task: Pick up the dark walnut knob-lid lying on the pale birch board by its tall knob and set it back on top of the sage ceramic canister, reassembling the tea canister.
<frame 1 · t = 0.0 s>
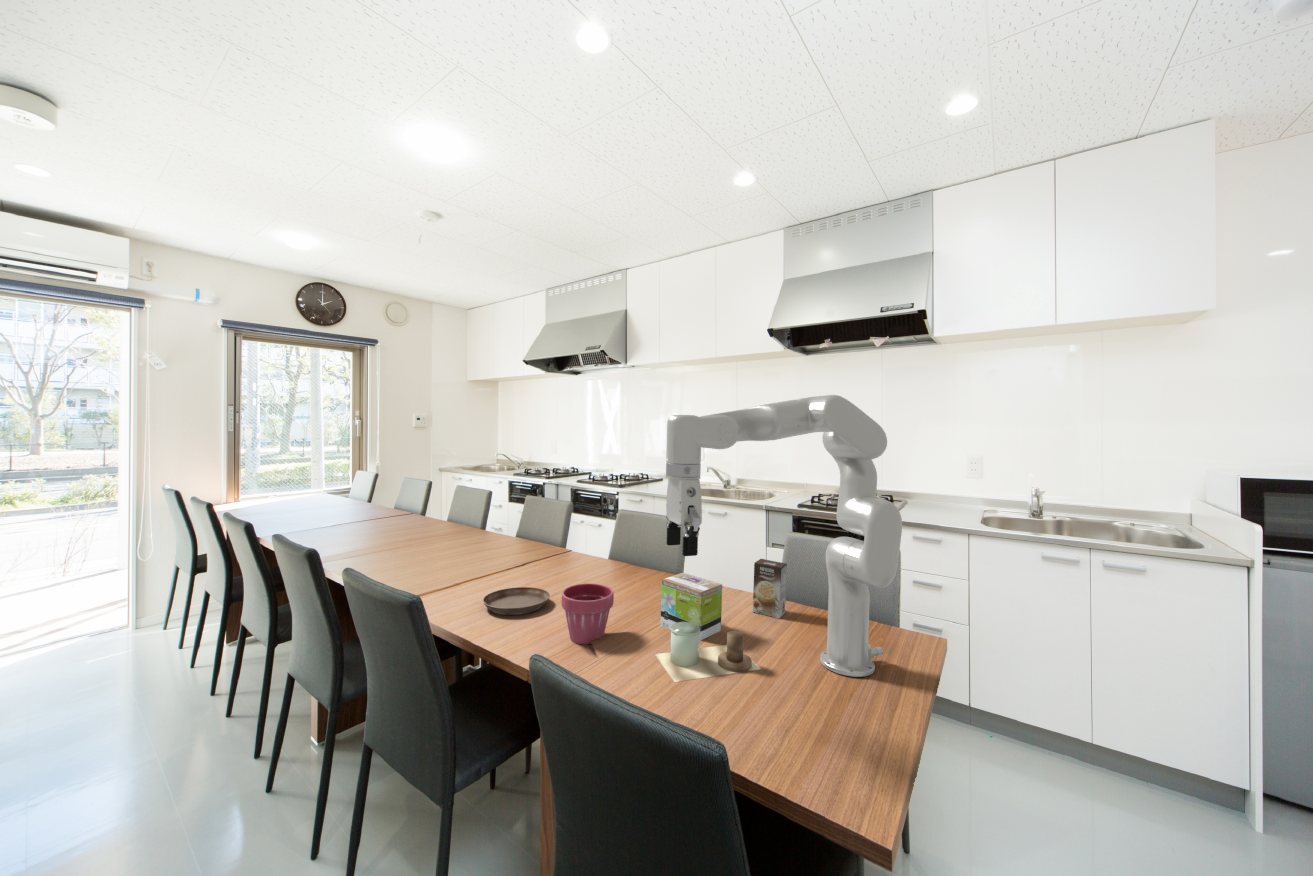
hand: (681, 550, 105), 31 cm above the table, fingers open, 9 cm apart
jar: (684, 660, 118), point 1 cm above the table, touching board
coffee box: (768, 613, 154), on the table
plant pot: (586, 638, 133), on the table
lid: (734, 663, 117), point 1 cm above the table, touching board
board: (706, 666, 118), on the table
plant saucer: (516, 607, 155), on the table
tea box: (690, 632, 138), on the table
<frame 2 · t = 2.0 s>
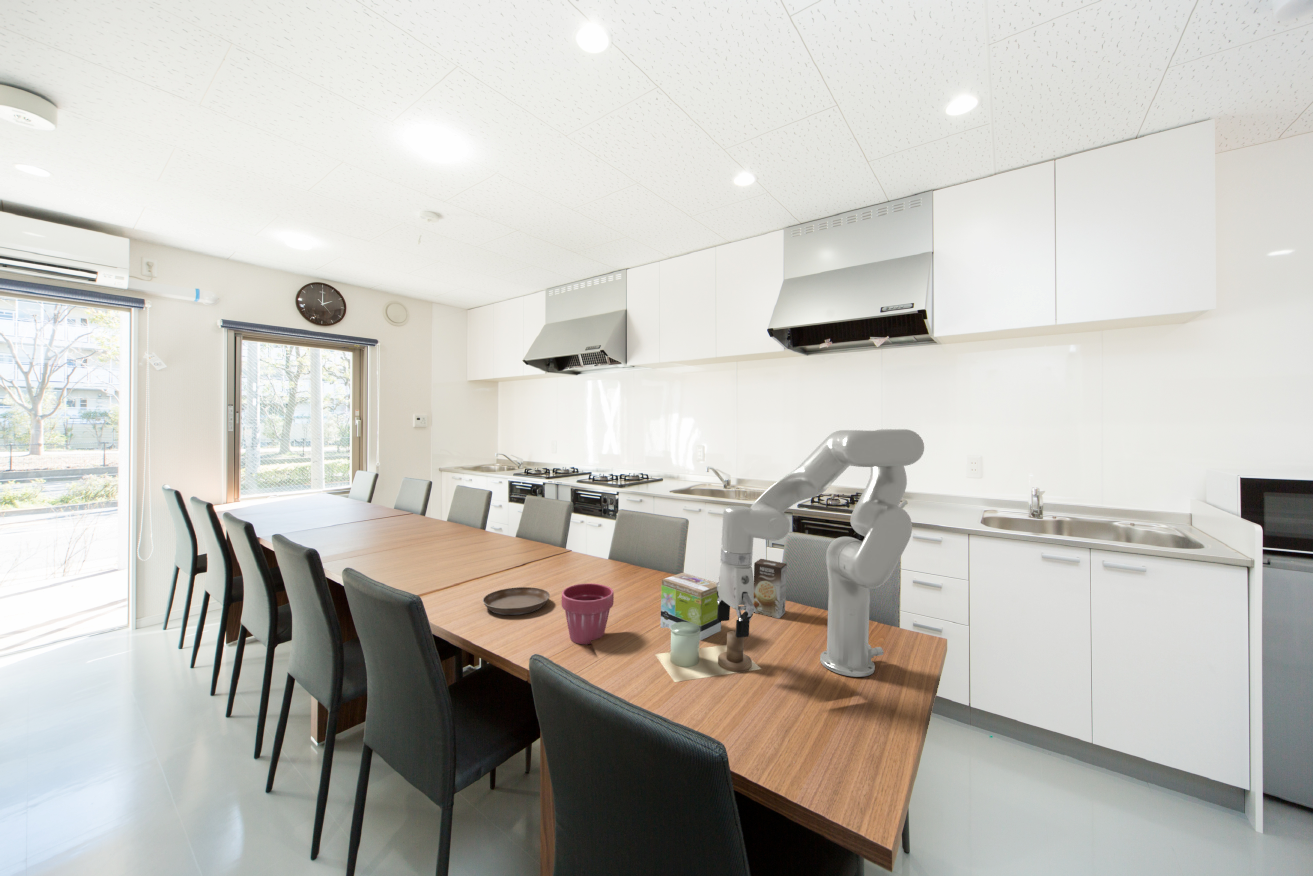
hand: (732, 628, 117), 10 cm above the table, fingers open, 9 cm apart
nothing on the table moved.
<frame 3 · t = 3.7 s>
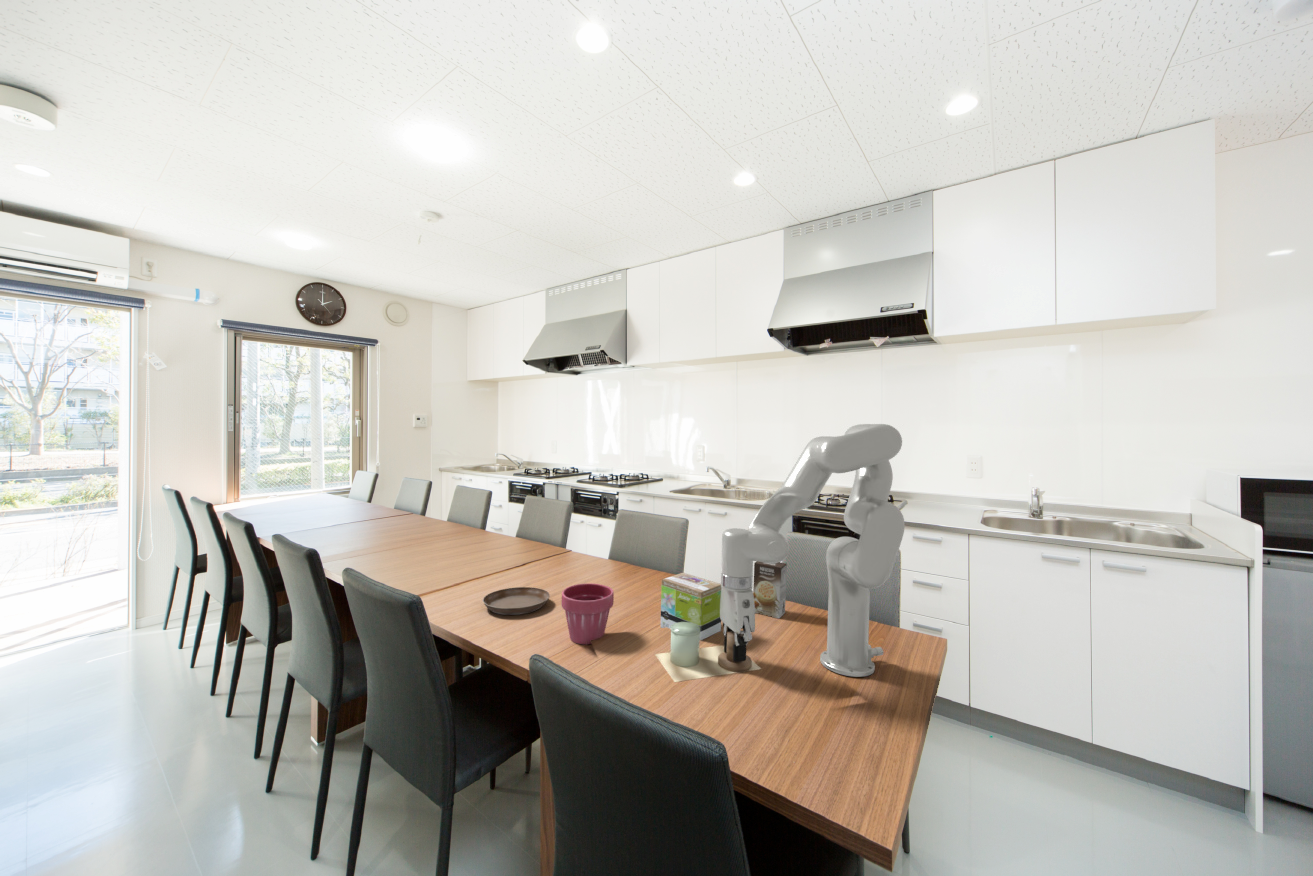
hand: (734, 655, 117), 3 cm above the table, fingers closed on lid, 4 cm apart
lid: (734, 663, 117), point 1 cm above the table, touching board, gripper
everything else where it was.
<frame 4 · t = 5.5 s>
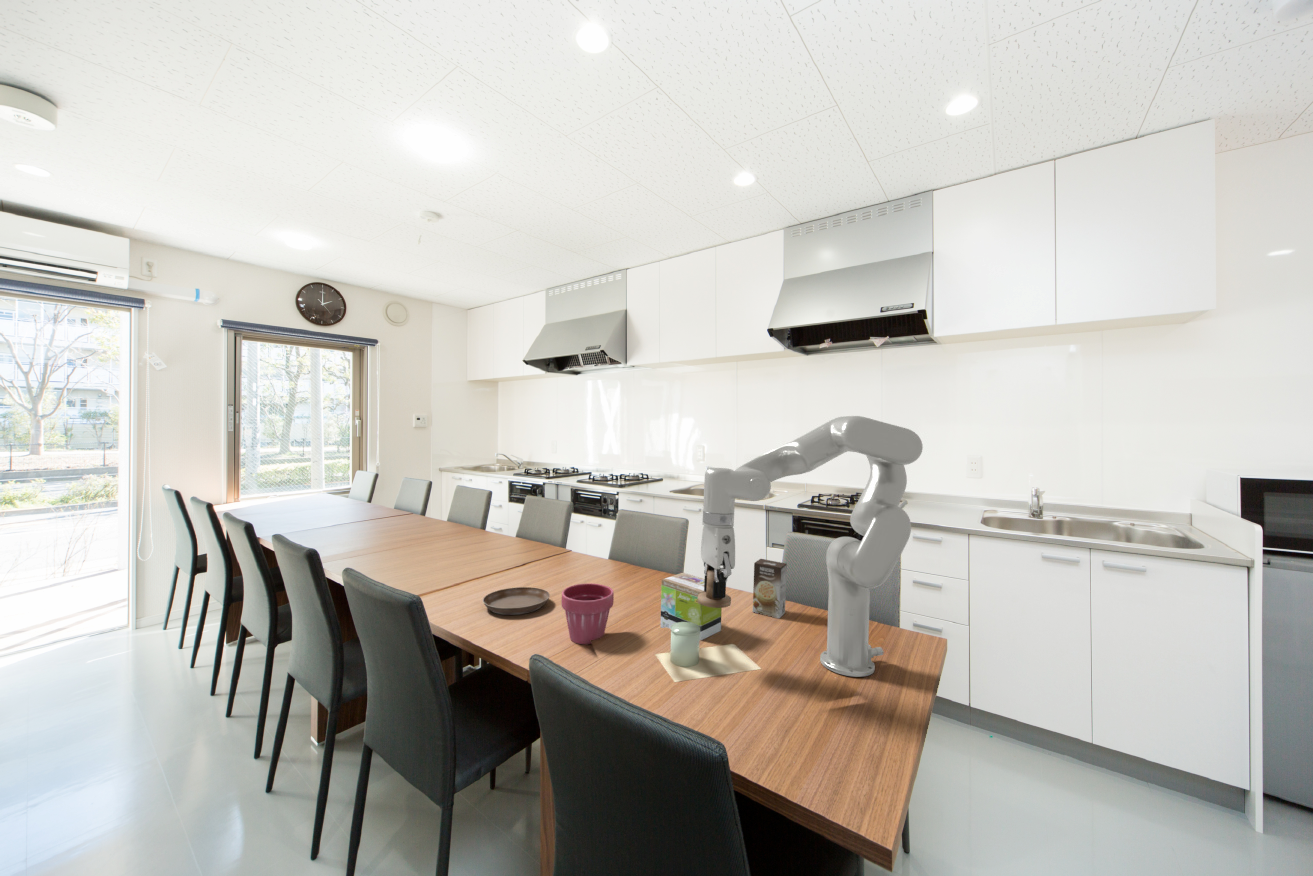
hand: (714, 593, 117), 18 cm above the table, fingers closed on lid, 4 cm apart
lid: (714, 602, 117), point 16 cm above the table, touching gripper
everything else where it was.
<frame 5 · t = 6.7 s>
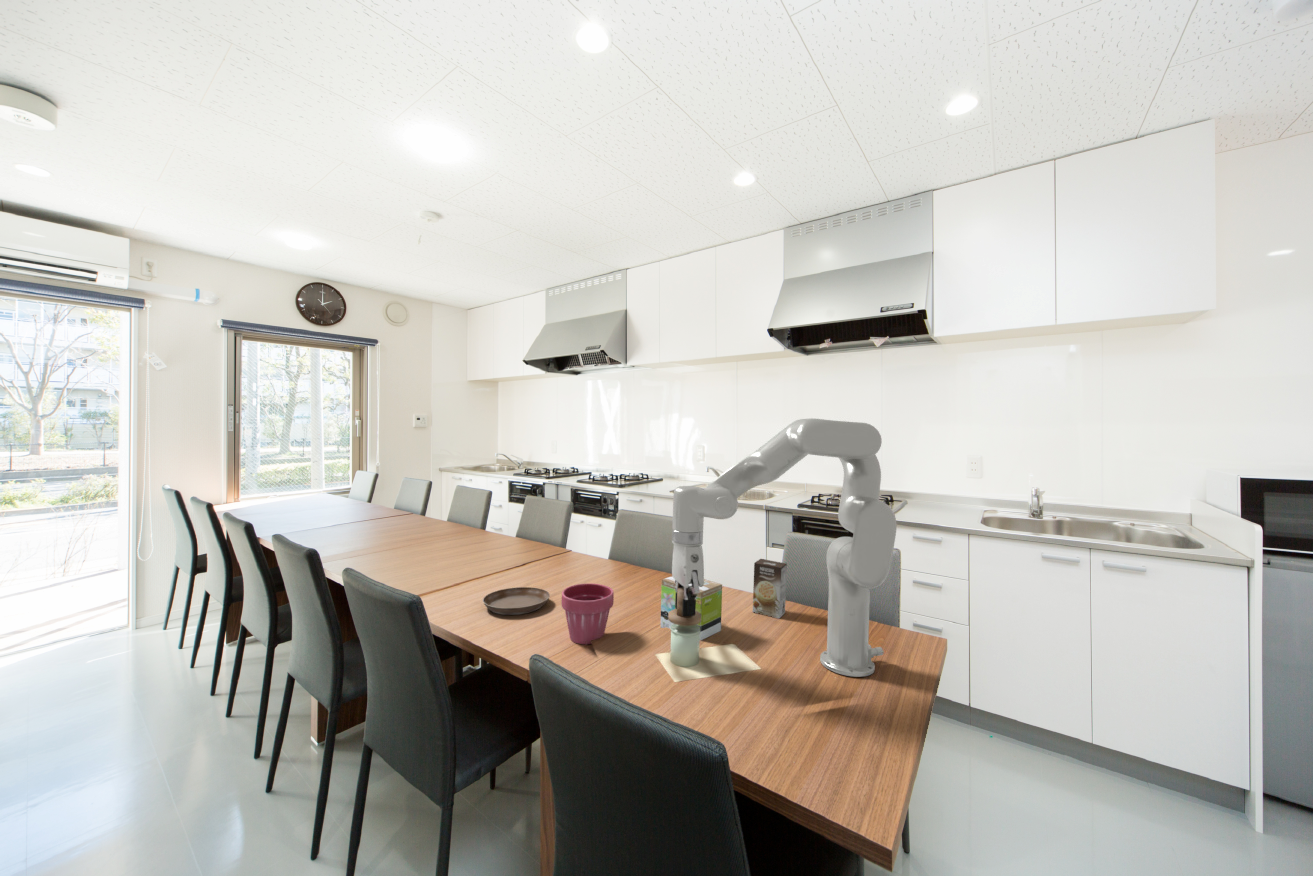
hand: (685, 611, 118), 13 cm above the table, fingers closed on lid, 4 cm apart
lid: (684, 619, 118), point 11 cm above the table, touching gripper
everything else where it was.
when the fingers open (12 cm above the table, at t = 7.6 s): lid stays where it is, resting on jar.
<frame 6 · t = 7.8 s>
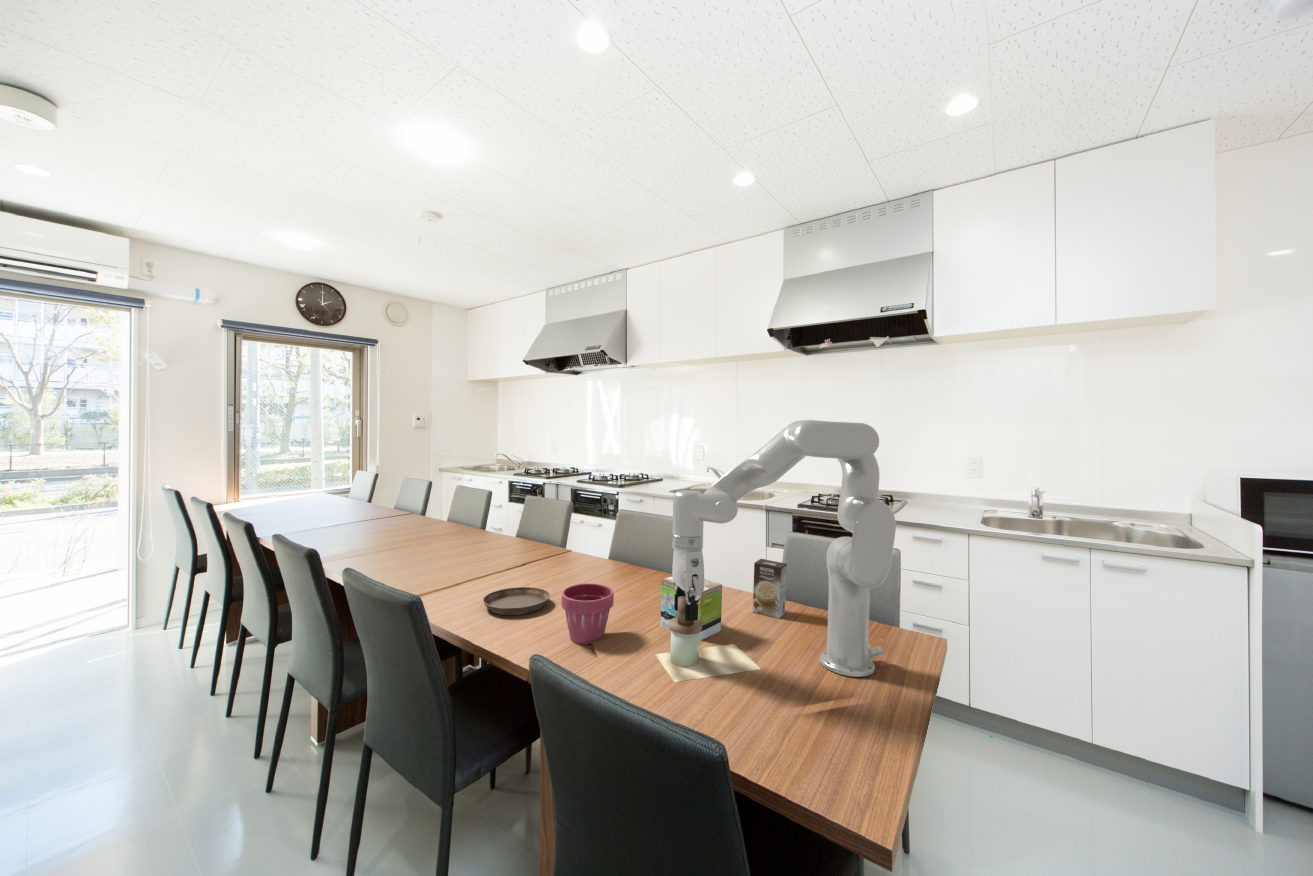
hand: (685, 614, 118), 12 cm above the table, fingers open, 6 cm apart
jar: (684, 660, 118), point 1 cm above the table, touching board, lid
lid: (685, 627, 118), point 9 cm above the table, touching jar
everything else where it was.
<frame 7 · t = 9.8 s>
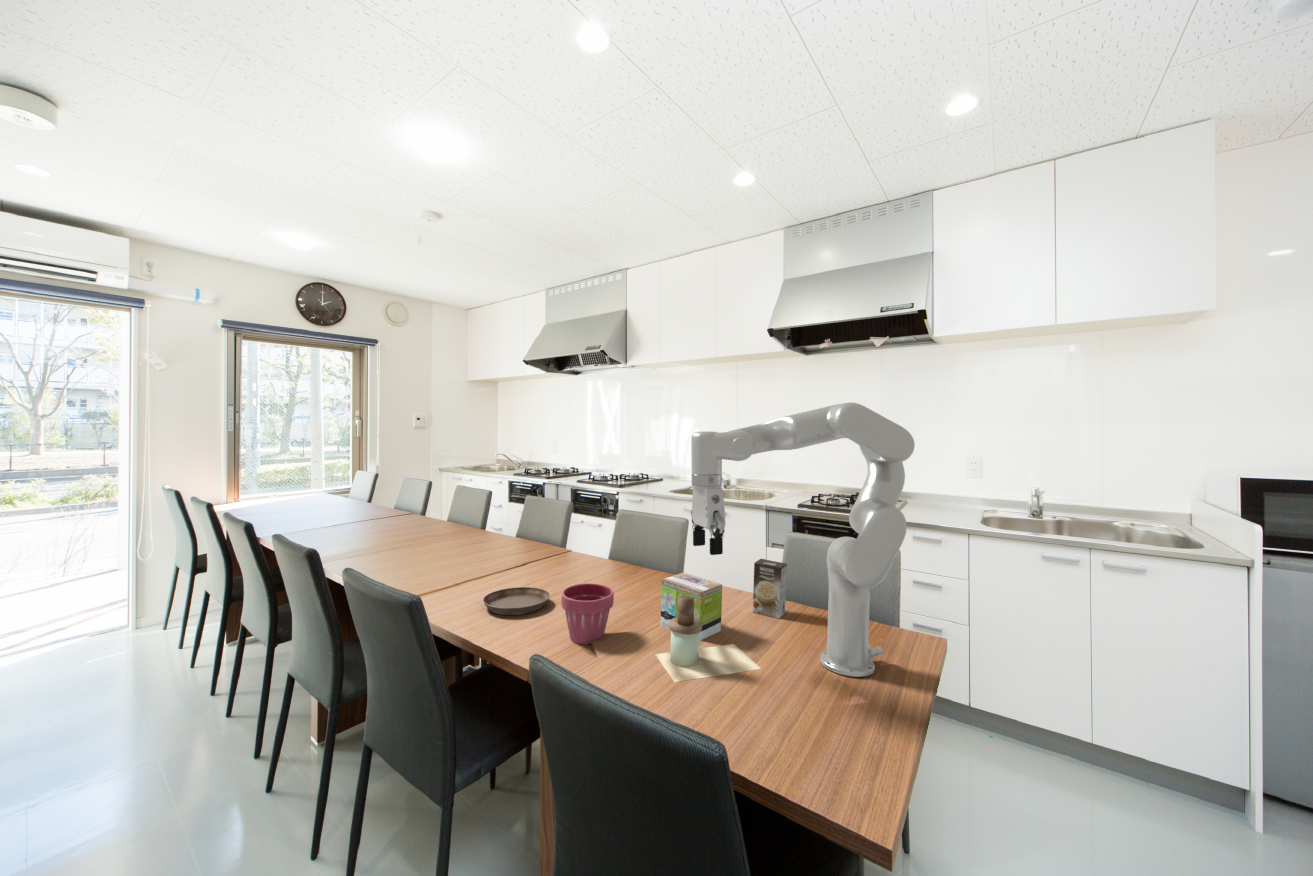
hand: (707, 549, 120), 28 cm above the table, fingers open, 9 cm apart
nothing on the table moved.
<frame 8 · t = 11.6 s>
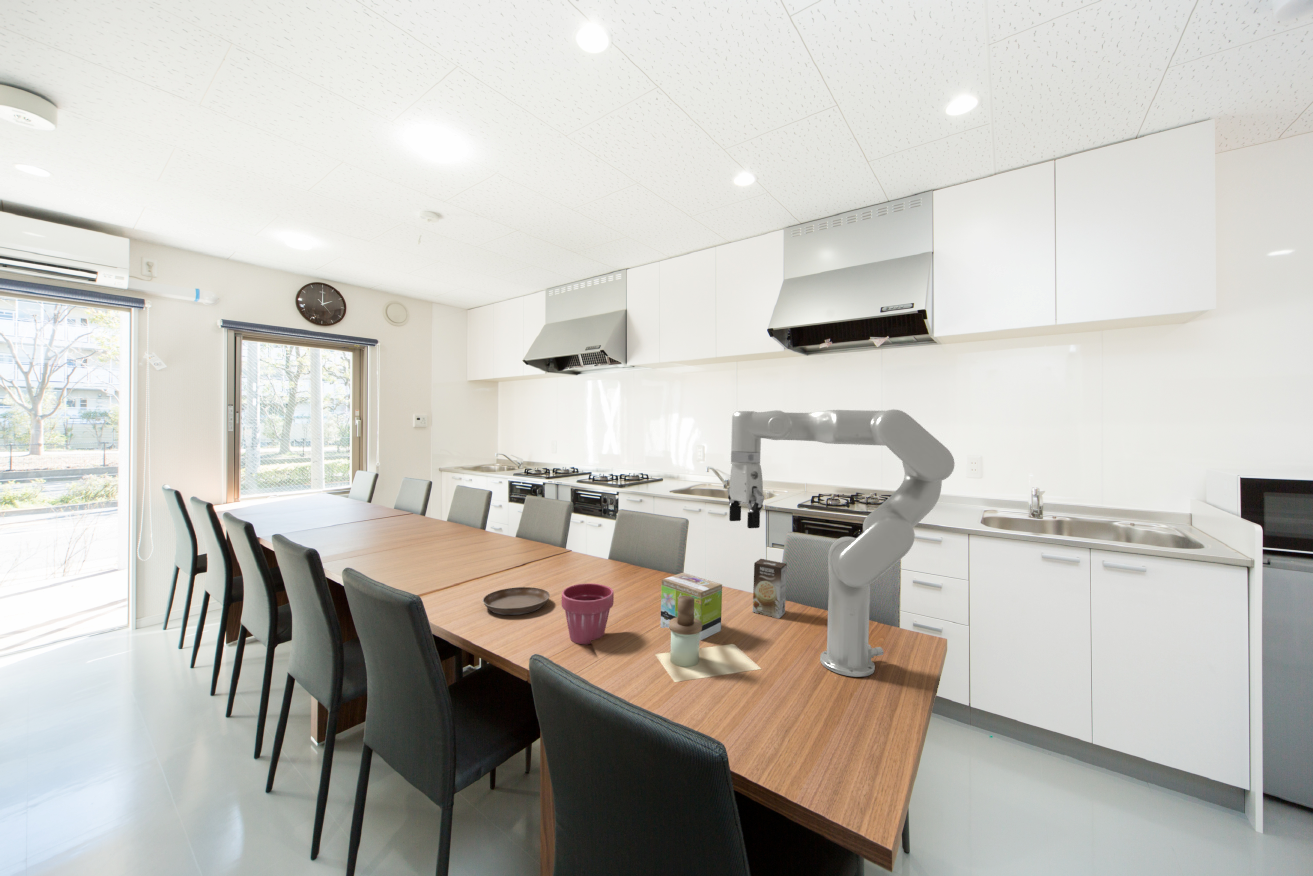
hand: (743, 524, 126), 33 cm above the table, fingers open, 9 cm apart
nothing on the table moved.
at the end: lid 0.1 cm off-centre on the jar, point 8.0 cm above the jar's base; lid tilted 0°; the gripper is holding nothing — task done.
